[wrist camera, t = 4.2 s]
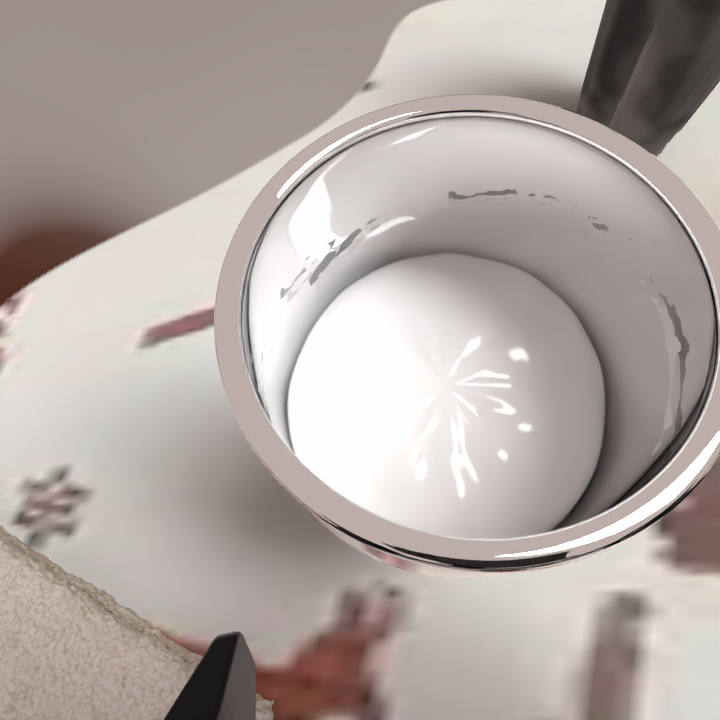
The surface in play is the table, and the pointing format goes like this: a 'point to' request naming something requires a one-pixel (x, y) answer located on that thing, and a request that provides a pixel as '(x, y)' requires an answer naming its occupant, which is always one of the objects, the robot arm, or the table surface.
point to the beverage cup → (652, 67)
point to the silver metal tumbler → (476, 335)
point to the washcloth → (81, 649)
